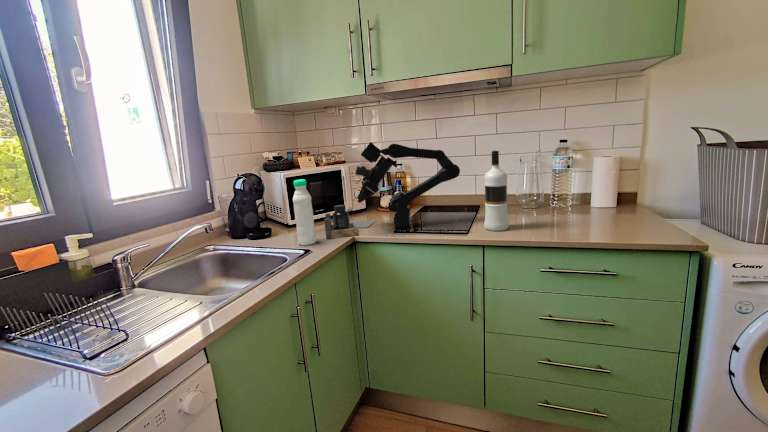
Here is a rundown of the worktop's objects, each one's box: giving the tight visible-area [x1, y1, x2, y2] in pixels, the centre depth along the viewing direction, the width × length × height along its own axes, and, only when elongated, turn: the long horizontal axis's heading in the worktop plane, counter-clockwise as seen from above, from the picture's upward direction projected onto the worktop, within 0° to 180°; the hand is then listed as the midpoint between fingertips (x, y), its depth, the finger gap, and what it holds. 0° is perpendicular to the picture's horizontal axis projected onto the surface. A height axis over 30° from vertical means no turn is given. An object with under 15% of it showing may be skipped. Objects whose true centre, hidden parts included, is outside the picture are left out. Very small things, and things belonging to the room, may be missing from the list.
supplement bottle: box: [331, 204, 351, 230], centre depth 156 cm, size 7×7×12 cm
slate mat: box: [349, 220, 377, 229], centre depth 170 cm, size 12×12×1 cm
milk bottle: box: [292, 178, 317, 246], centre depth 144 cm, size 7×7×25 cm
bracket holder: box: [323, 212, 358, 240], centre depth 156 cm, size 12×13×8 cm
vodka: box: [483, 150, 510, 232], centre depth 142 cm, size 9×9×30 cm
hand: (358, 200), depth 156 cm, fingers open, 9 cm apart
